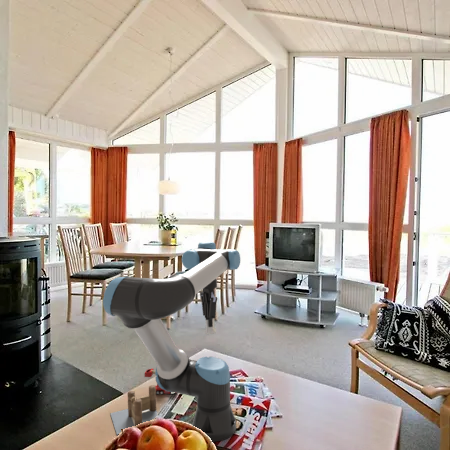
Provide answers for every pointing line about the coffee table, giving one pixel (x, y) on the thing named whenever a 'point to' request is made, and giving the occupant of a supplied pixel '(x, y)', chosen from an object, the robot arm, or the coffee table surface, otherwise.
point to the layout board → (129, 419)
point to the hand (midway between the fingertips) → (209, 333)
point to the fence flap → (135, 407)
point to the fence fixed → (146, 401)
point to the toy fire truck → (158, 389)
